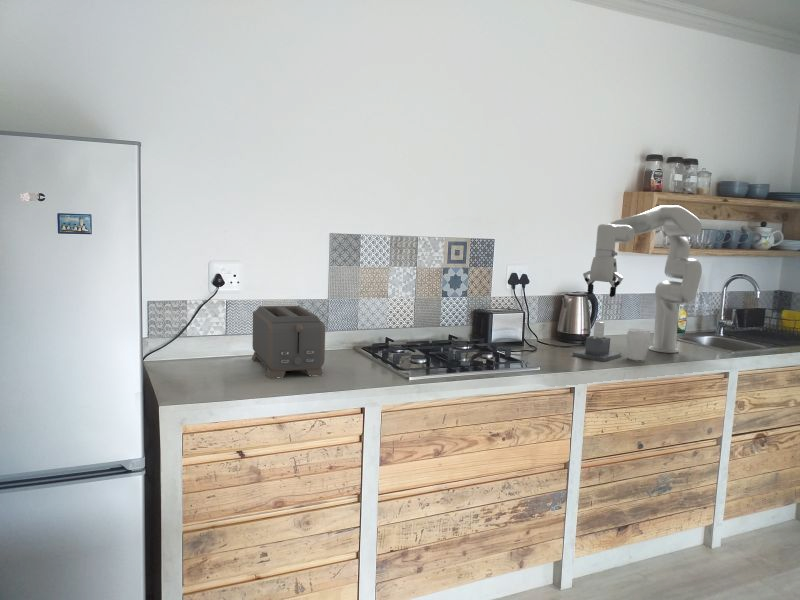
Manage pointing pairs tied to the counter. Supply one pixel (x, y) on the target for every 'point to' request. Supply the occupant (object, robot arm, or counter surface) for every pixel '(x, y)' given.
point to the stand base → (597, 350)
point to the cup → (637, 343)
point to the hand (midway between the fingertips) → (601, 295)
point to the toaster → (288, 340)
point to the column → (599, 330)
